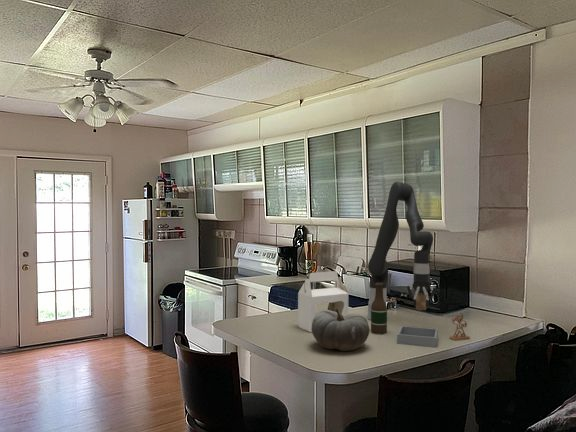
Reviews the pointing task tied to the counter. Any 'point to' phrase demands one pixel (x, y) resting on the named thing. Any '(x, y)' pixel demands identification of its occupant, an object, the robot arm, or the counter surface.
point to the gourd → (340, 330)
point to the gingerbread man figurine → (460, 337)
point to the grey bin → (417, 336)
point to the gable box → (320, 298)
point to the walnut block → (421, 302)
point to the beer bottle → (379, 312)
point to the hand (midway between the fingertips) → (421, 307)
